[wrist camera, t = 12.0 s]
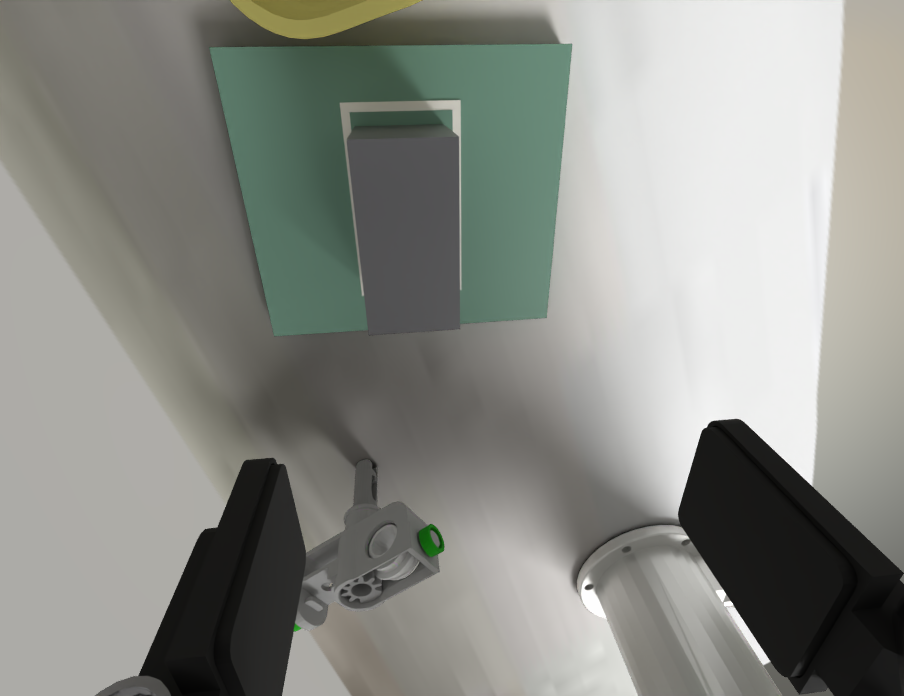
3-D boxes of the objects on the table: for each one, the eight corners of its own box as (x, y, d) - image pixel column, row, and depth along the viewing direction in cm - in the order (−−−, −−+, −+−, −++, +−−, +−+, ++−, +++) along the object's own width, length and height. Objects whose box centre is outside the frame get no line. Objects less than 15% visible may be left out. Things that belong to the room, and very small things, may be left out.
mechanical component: (299, 489, 35) (271, 623, 27) (412, 419, 33) (422, 539, 25) (325, 510, 37) (308, 644, 28) (436, 445, 35) (453, 567, 26)
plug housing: (443, 123, 23) (459, 136, 18) (446, 284, 27) (460, 329, 22) (354, 126, 22) (346, 139, 18) (371, 288, 26) (368, 335, 22)
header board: (561, 45, 23) (602, 38, 19) (539, 307, 30) (565, 345, 26) (219, 49, 22) (178, 42, 17) (279, 324, 29) (260, 368, 24)
